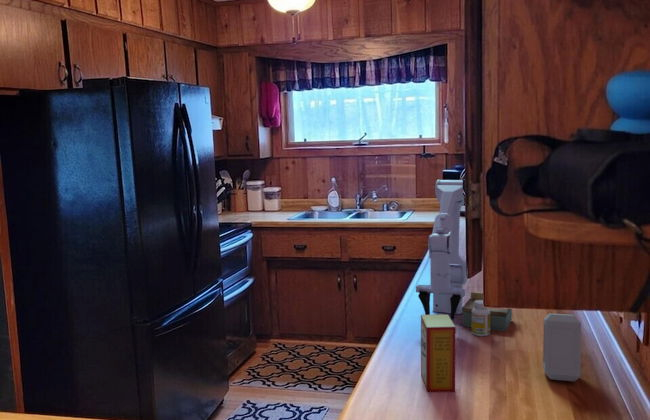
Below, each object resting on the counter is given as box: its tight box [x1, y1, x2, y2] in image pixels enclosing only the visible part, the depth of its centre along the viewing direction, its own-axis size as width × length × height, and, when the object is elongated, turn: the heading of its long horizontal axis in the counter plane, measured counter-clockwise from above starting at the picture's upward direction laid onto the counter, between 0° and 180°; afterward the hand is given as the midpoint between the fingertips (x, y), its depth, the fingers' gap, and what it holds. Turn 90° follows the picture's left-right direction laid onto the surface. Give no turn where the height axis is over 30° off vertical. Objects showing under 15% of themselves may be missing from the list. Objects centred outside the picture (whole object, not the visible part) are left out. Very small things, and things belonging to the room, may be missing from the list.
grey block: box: [542, 313, 582, 382], centre depth 152 cm, size 15×8×30 cm
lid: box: [462, 290, 510, 316], centre depth 183 cm, size 13×11×4 cm
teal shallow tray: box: [461, 308, 513, 332], centre depth 183 cm, size 13×11×4 cm
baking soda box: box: [420, 313, 456, 393], centre depth 140 cm, size 10×6×16 cm
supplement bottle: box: [471, 300, 491, 337], centre depth 174 cm, size 5×5×10 cm
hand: (440, 317), depth 176 cm, fingers open, 7 cm apart
